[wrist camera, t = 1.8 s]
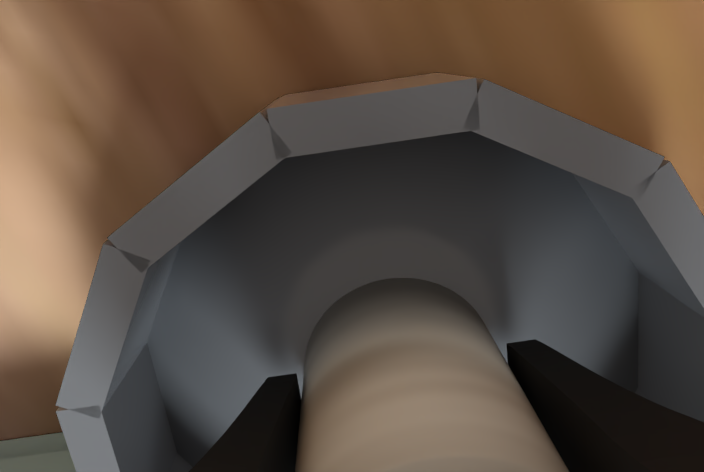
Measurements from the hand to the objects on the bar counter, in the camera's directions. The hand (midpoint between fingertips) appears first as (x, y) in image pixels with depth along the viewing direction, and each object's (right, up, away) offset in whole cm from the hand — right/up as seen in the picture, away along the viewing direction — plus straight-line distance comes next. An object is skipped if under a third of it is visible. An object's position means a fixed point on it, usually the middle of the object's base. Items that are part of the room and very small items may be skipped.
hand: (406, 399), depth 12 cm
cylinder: (0, 0, +1) cm, 1 cm away
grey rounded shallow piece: (0, +1, +2) cm, 2 cm away
